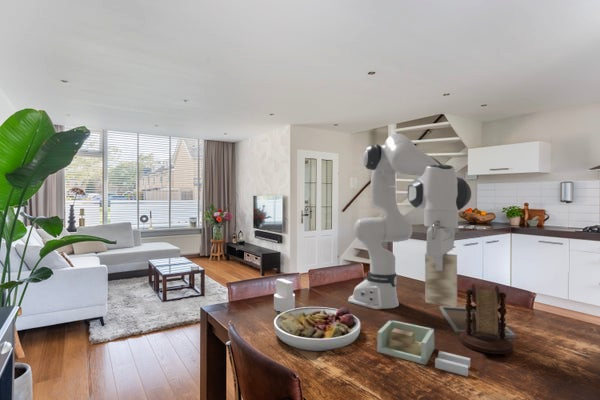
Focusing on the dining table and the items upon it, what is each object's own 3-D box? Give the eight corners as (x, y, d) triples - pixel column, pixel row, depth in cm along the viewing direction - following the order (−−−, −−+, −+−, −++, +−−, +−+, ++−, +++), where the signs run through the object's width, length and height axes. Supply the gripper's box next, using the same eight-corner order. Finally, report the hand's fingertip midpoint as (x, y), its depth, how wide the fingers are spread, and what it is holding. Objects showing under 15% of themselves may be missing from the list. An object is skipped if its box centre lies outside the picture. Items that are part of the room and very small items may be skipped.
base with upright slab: (269, 308, 141) (270, 280, 141) (286, 304, 146) (287, 277, 146) (281, 313, 134) (281, 284, 134) (299, 309, 139) (299, 281, 139)
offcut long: (389, 348, 100) (389, 339, 100) (392, 345, 103) (392, 335, 103) (419, 356, 96) (419, 346, 96) (422, 352, 98) (422, 342, 98)
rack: (377, 355, 99) (377, 332, 98) (389, 340, 109) (389, 319, 109) (425, 368, 91) (425, 343, 91) (434, 351, 101) (434, 329, 101)
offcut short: (391, 339, 100) (391, 331, 100) (394, 336, 103) (394, 328, 103) (411, 344, 97) (411, 335, 97) (413, 340, 99) (413, 332, 99)
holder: (435, 371, 89) (435, 359, 89) (439, 361, 94) (439, 350, 94) (467, 380, 85) (467, 367, 85) (470, 369, 90) (470, 358, 90)
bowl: (304, 365, 93) (304, 337, 93) (259, 329, 118) (259, 307, 118) (379, 341, 109) (379, 317, 109) (325, 314, 134) (325, 295, 134)
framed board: (456, 330, 114) (438, 303, 144) (456, 335, 114) (438, 307, 144) (516, 335, 110) (485, 306, 140) (516, 340, 110) (485, 310, 140)
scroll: (462, 354, 99) (462, 288, 99) (457, 335, 113) (457, 277, 113) (518, 362, 94) (519, 293, 94) (506, 341, 108) (506, 281, 108)
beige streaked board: (425, 302, 93) (425, 253, 94) (427, 300, 96) (427, 252, 96) (455, 307, 89) (455, 255, 89) (457, 304, 91) (456, 254, 91)
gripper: (445, 222, 82) (446, 276, 82) (458, 219, 99) (458, 265, 99) (420, 221, 86) (420, 274, 86) (436, 219, 103) (436, 263, 103)
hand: (440, 269), depth 92 cm, fingers closed on beige streaked board, 2 cm apart
